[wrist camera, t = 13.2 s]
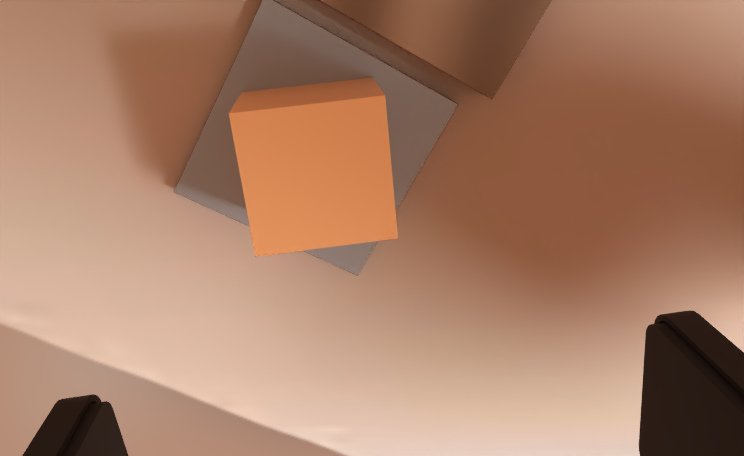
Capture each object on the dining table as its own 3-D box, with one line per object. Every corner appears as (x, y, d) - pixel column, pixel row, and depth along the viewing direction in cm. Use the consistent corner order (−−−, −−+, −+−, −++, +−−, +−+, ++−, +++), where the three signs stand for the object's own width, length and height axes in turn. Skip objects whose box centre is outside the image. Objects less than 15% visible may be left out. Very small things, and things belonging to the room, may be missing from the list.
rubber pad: (455, 102, 30) (458, 104, 29) (356, 270, 32) (357, 275, 32) (265, -5, 27) (264, -5, 27) (176, 188, 30) (173, 192, 29)
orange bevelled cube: (372, 77, 28) (385, 95, 24) (384, 199, 31) (398, 238, 26) (241, 92, 28) (228, 113, 23) (263, 215, 30) (255, 256, 26)
